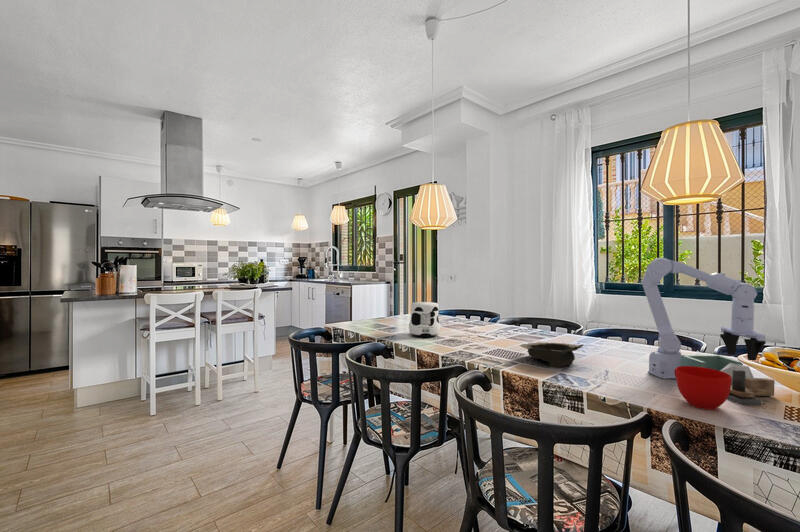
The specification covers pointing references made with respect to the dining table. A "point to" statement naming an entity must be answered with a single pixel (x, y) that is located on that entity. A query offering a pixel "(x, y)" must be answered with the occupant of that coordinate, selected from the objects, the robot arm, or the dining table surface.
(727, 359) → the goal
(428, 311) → the milk container
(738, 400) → the rail
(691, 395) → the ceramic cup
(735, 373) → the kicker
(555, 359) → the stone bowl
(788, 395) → the dining table surface
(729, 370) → the die
